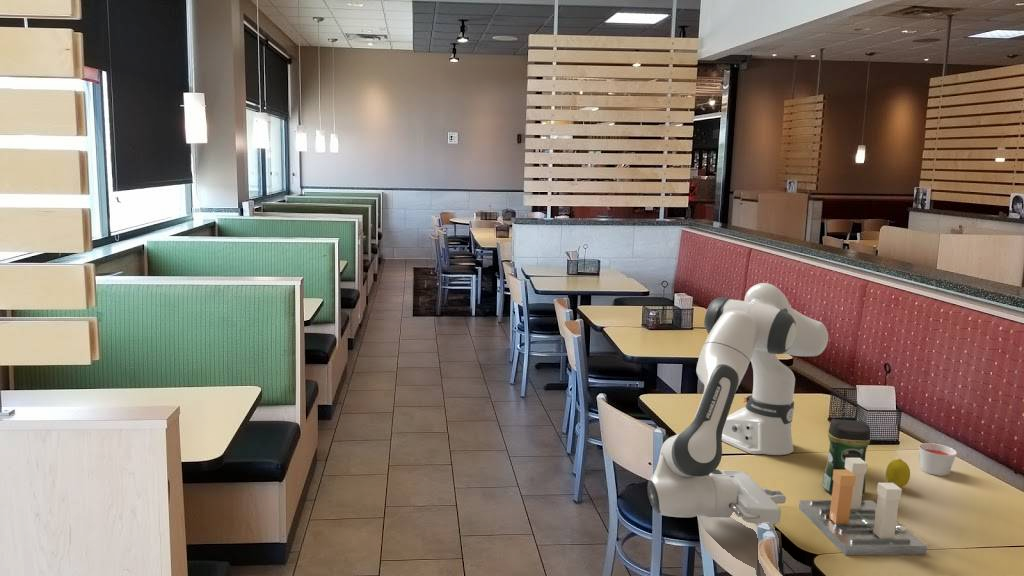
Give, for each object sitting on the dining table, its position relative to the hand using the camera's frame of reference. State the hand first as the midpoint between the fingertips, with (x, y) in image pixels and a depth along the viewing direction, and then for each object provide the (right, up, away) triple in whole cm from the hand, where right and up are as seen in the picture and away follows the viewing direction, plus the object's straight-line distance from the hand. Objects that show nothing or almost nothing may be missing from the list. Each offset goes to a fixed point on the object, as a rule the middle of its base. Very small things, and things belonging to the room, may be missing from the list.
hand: (782, 496), depth 175 cm
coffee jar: (+23, -5, +24) cm, 34 cm away
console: (+18, -8, +3) cm, 20 cm away
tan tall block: (+13, -6, +3) cm, 15 cm away
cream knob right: (+20, -7, -4) cm, 22 cm away
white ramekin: (+55, -4, +40) cm, 68 cm away
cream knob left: (+19, -5, +10) cm, 22 cm away
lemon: (+38, -5, +27) cm, 47 cm away
